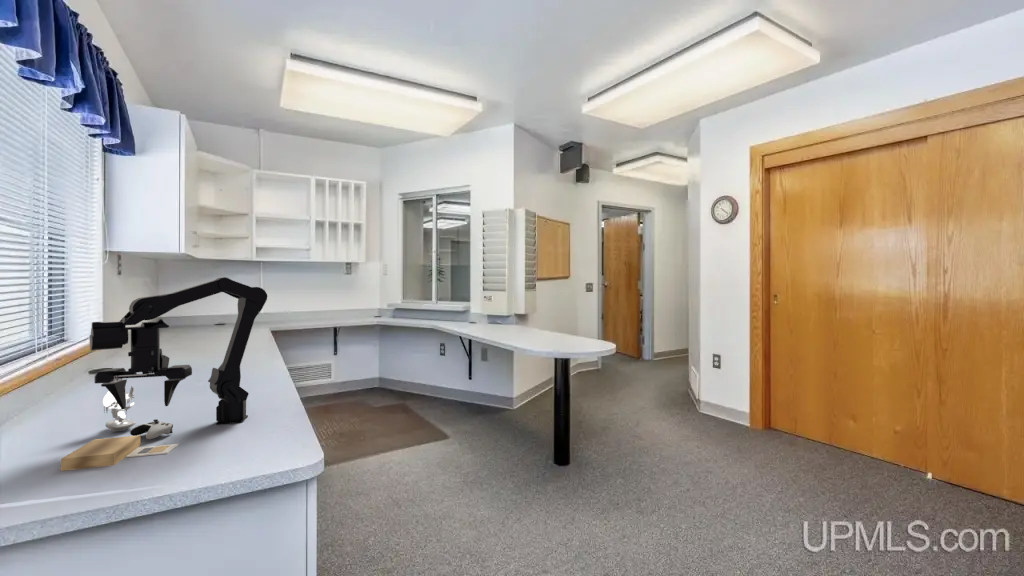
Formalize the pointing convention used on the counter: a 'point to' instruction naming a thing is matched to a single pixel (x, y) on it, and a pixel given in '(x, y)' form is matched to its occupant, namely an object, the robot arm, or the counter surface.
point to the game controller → (152, 429)
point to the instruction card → (152, 450)
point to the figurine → (118, 412)
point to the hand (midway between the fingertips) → (145, 407)
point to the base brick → (100, 453)
